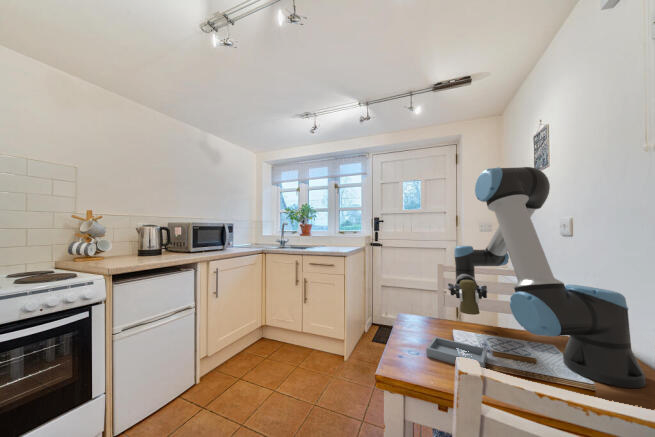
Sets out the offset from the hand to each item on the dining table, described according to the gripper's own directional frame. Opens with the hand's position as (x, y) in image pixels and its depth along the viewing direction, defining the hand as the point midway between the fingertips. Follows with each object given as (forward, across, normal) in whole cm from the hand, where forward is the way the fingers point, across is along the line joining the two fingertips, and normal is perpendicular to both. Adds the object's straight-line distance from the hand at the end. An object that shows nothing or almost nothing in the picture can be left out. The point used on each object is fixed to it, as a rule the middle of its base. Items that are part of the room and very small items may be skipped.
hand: (469, 298), depth 81 cm
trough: (+4, +5, -18) cm, 19 cm away
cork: (-5, 0, -6) cm, 8 cm away
